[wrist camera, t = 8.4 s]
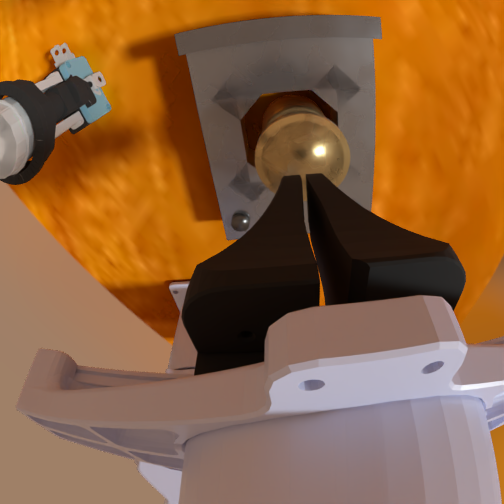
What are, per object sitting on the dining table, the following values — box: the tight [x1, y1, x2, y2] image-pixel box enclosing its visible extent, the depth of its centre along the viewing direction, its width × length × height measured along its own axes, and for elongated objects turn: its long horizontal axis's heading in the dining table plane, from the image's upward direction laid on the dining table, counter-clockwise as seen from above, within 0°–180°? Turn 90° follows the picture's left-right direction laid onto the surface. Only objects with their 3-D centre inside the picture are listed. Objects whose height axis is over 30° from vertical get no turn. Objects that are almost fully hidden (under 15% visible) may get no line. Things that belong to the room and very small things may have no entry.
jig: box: [174, 15, 382, 240], centre depth 17 cm, size 14×10×4 cm
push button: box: [0, 43, 111, 185], centre depth 13 cm, size 7×5×10 cm
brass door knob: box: [255, 94, 350, 201], centre depth 17 cm, size 5×5×6 cm
